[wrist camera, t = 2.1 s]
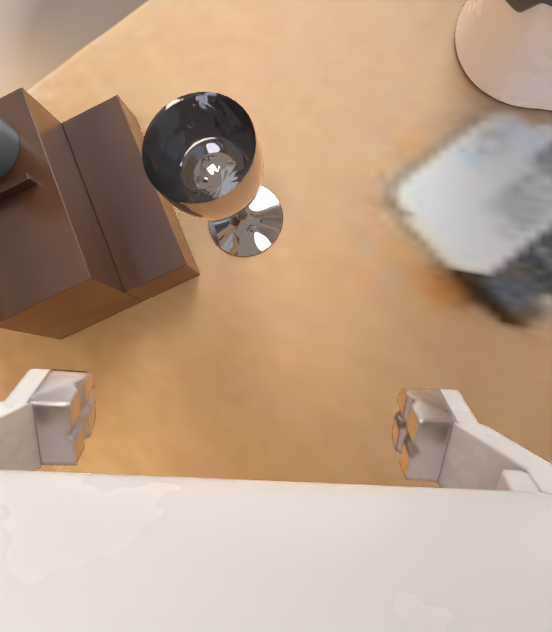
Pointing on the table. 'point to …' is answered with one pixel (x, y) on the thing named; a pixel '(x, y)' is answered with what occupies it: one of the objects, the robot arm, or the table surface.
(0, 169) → the tumbler
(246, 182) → the wine glass
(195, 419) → the table surface
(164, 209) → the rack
